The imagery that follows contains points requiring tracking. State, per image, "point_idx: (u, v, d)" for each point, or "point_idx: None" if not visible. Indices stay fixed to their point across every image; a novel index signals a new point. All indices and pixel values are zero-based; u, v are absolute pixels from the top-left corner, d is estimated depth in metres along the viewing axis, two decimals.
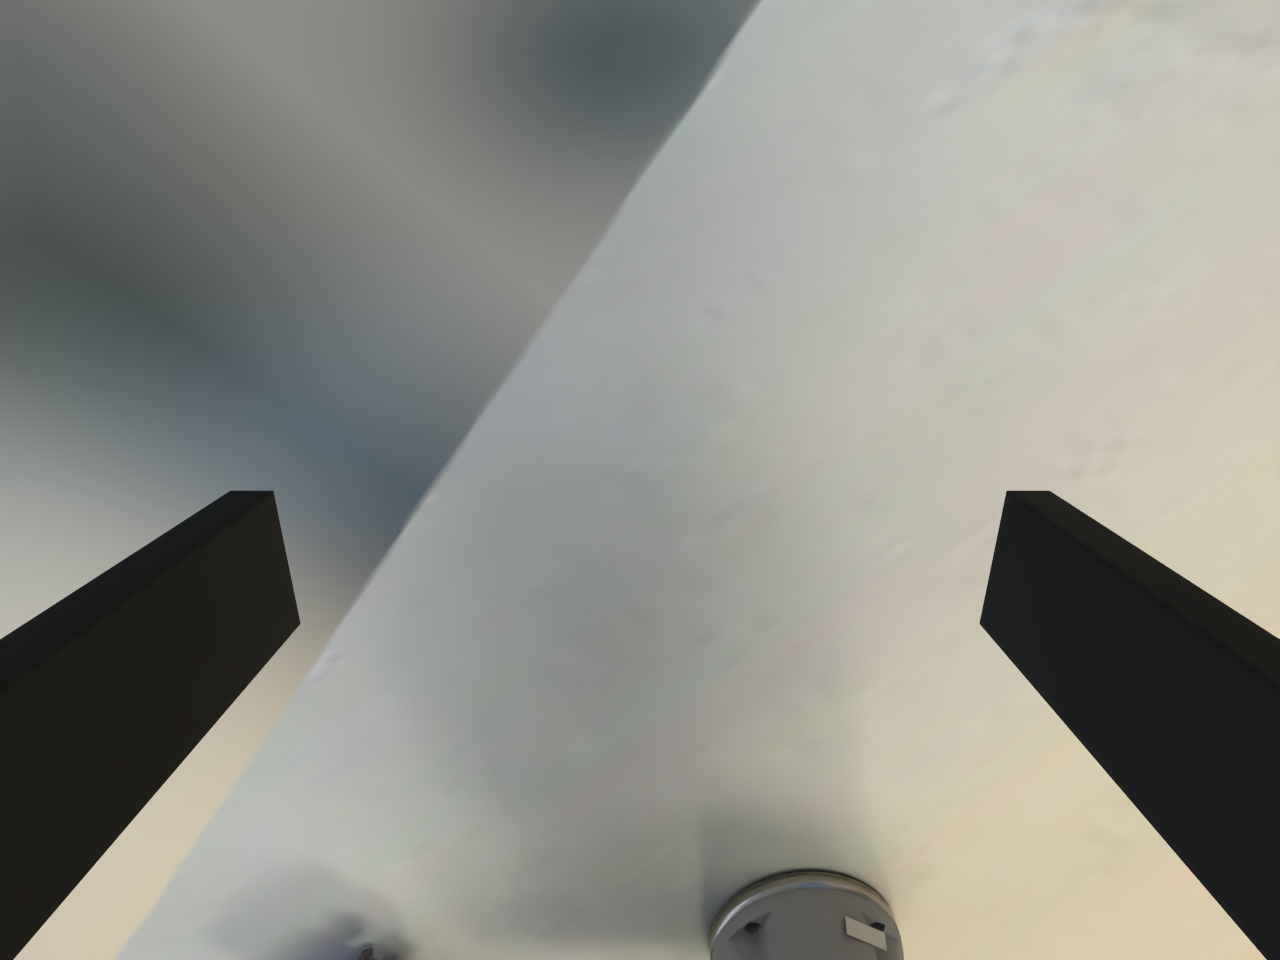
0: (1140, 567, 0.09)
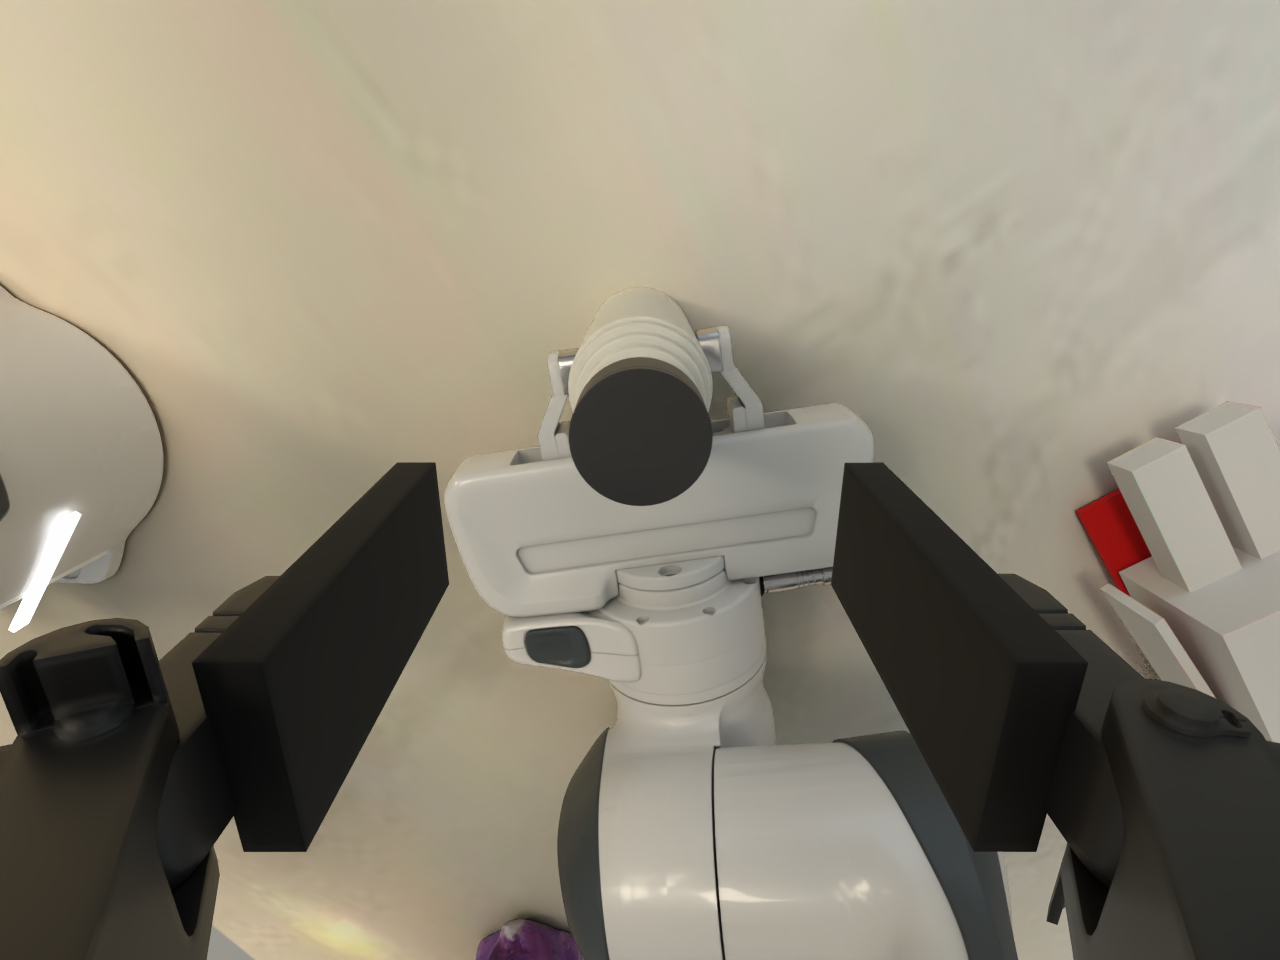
0: (919, 521, 0.11)
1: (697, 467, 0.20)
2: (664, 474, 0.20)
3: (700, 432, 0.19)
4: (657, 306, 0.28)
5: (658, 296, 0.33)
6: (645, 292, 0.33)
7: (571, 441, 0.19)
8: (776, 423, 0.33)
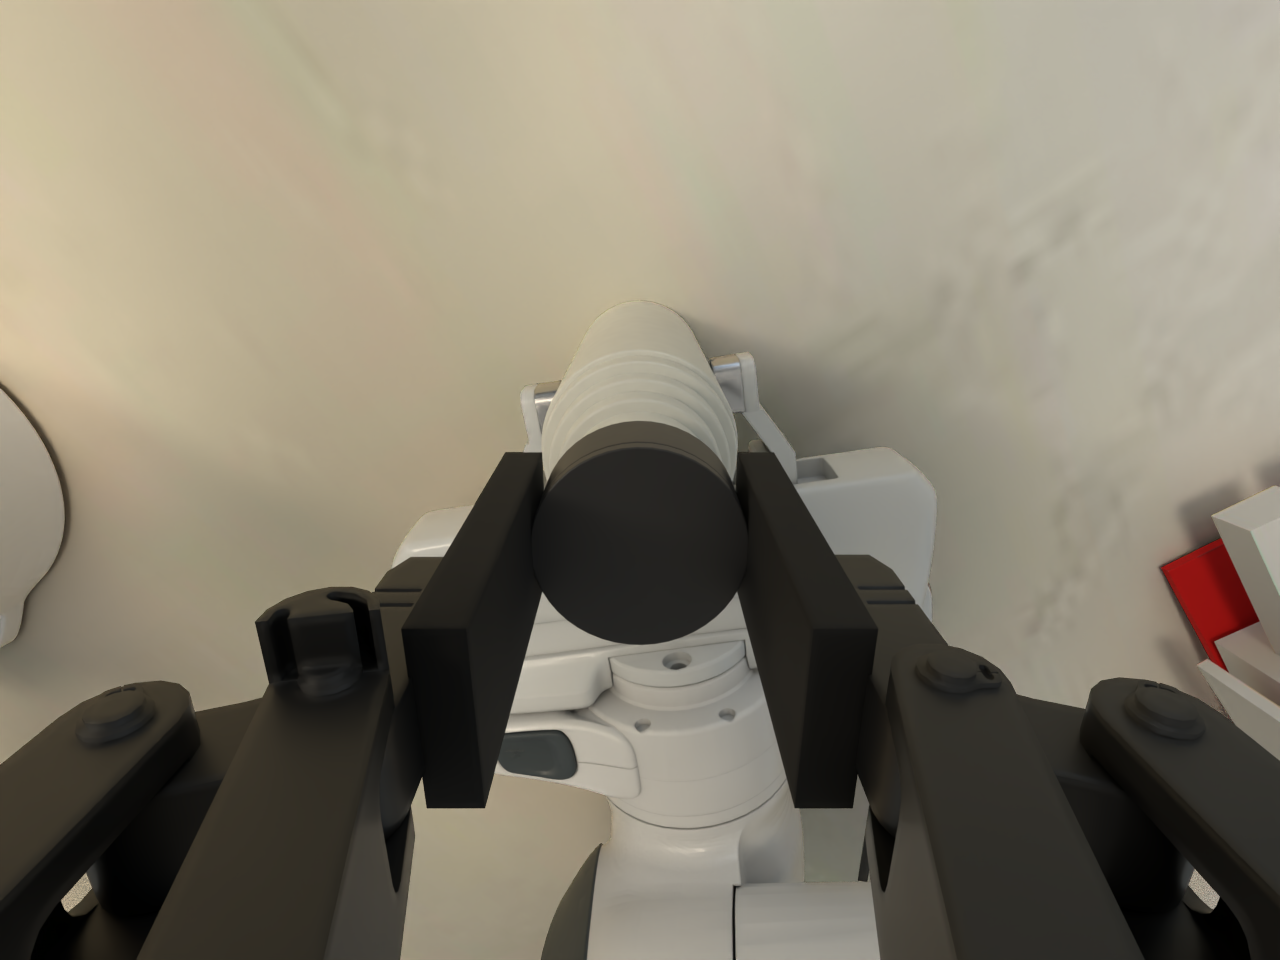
0: (783, 505, 0.11)
1: (725, 591, 0.13)
2: (675, 600, 0.13)
3: (731, 540, 0.13)
4: (662, 330, 0.21)
5: (662, 314, 0.26)
6: (646, 308, 0.26)
7: (534, 554, 0.13)
8: (810, 473, 0.27)
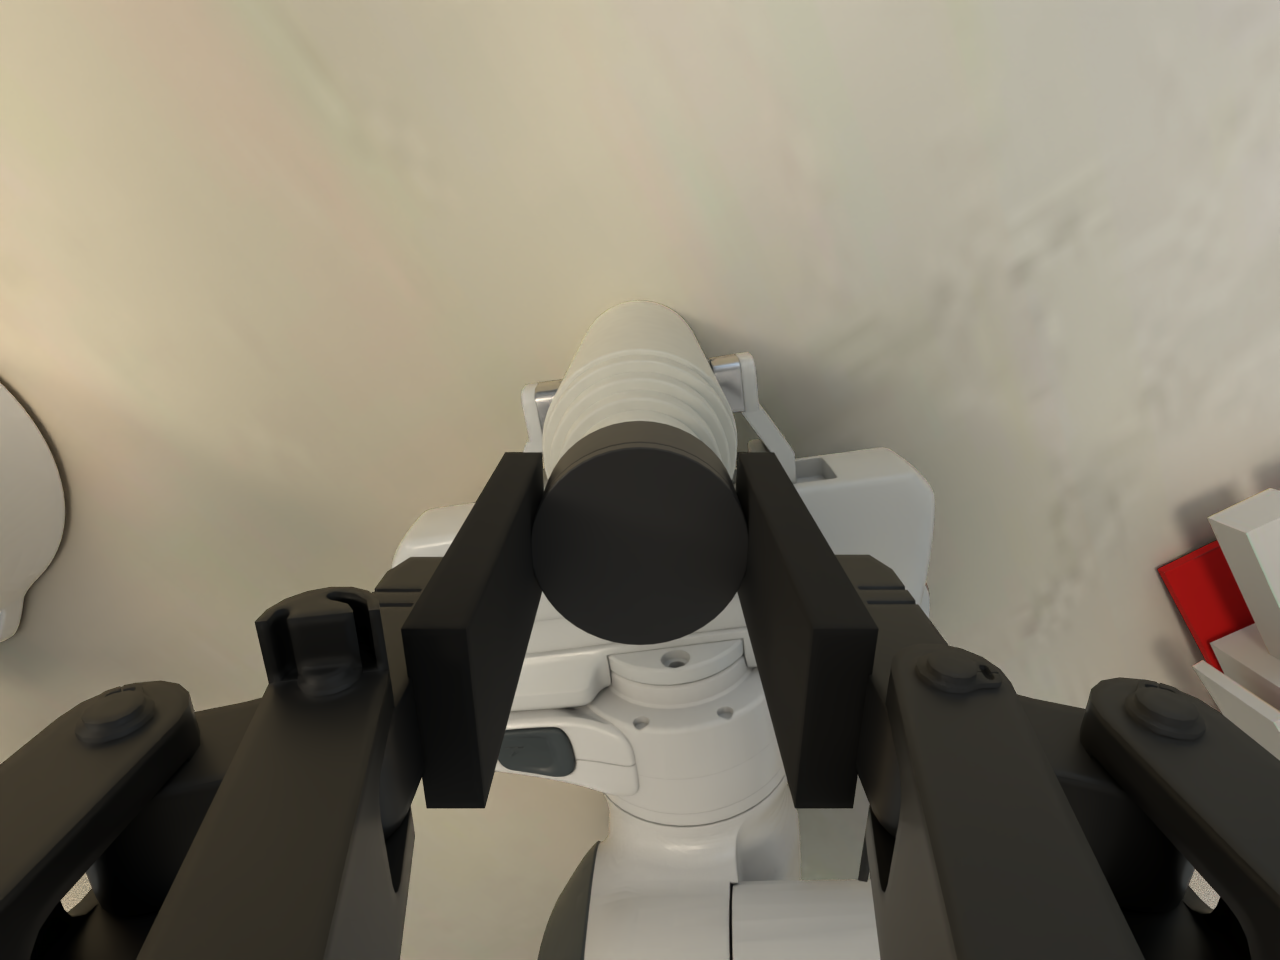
0: (783, 506, 0.11)
1: (649, 459, 0.12)
2: (679, 501, 0.12)
3: (593, 476, 0.12)
4: (662, 330, 0.21)
5: (663, 313, 0.26)
6: (646, 308, 0.26)
7: (678, 636, 0.13)
8: (808, 472, 0.27)
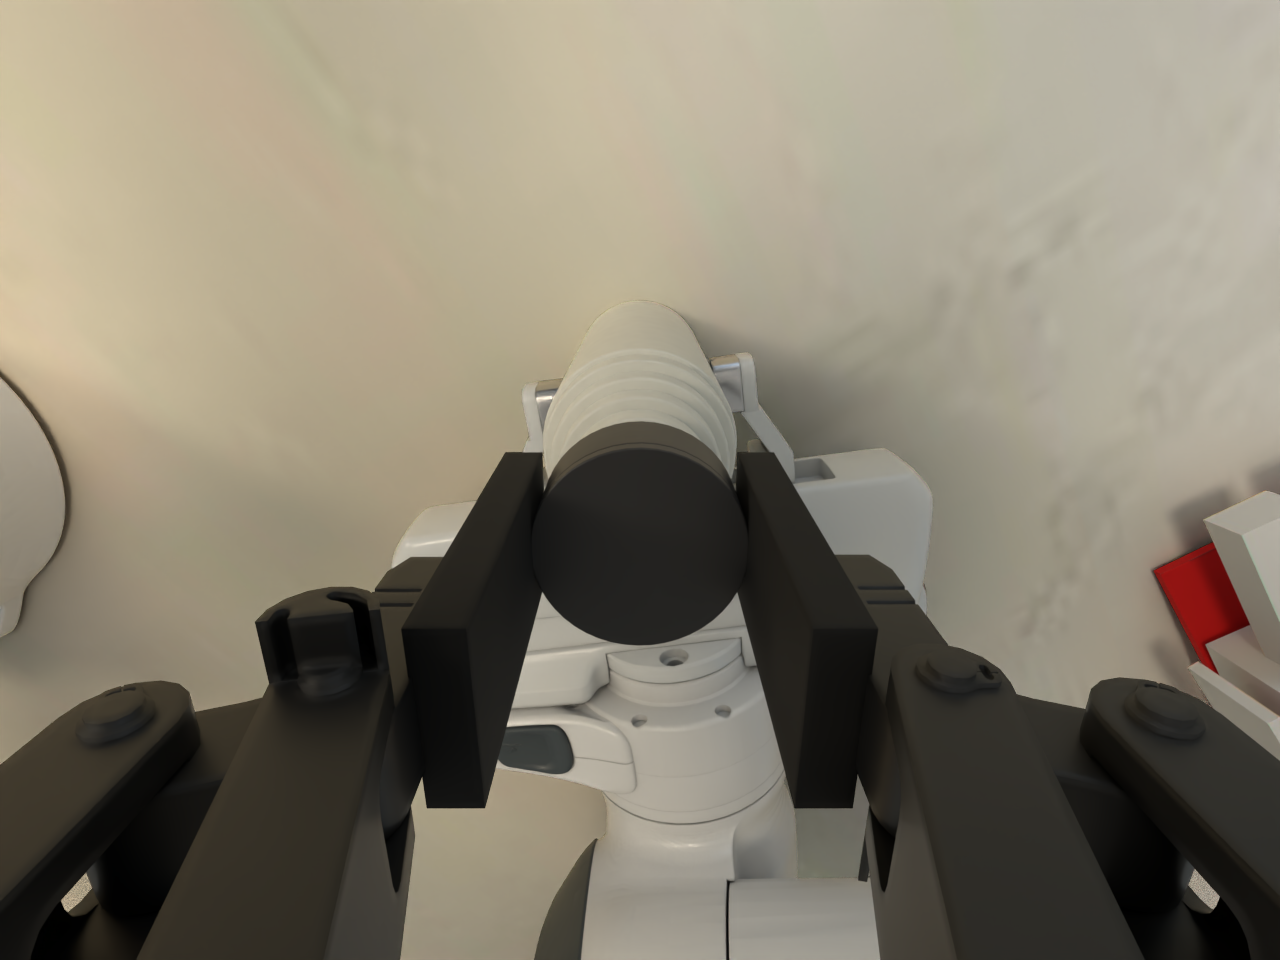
0: (782, 505, 0.11)
1: (546, 577, 0.13)
2: (574, 538, 0.12)
3: (583, 613, 0.13)
4: (663, 330, 0.22)
5: (663, 313, 0.26)
6: (647, 308, 0.27)
7: (719, 484, 0.12)
8: (807, 473, 0.27)
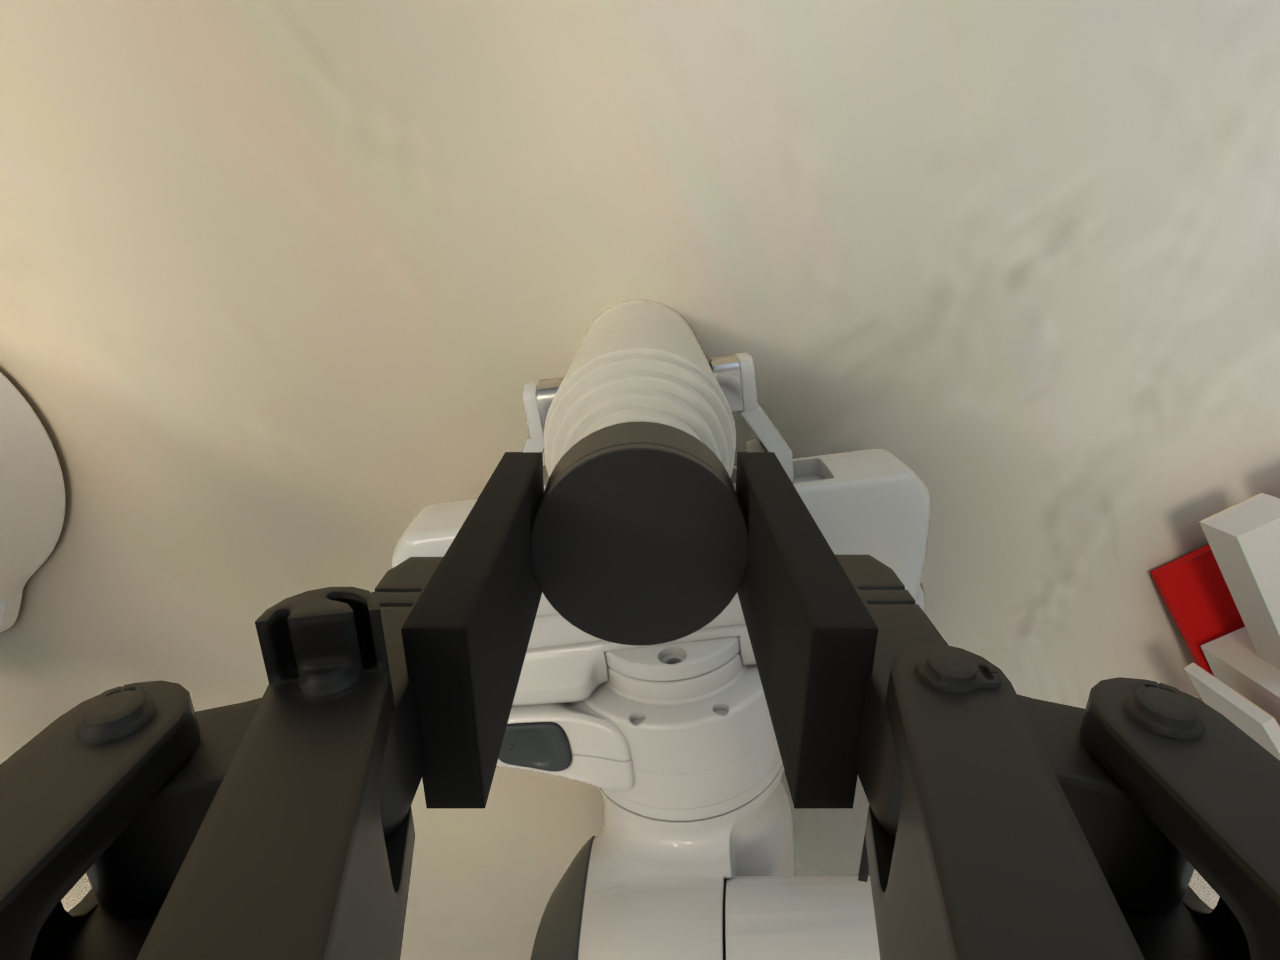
0: (783, 505, 0.11)
1: (697, 620, 0.13)
2: (648, 610, 0.13)
3: (725, 578, 0.13)
4: (663, 330, 0.22)
5: (663, 313, 0.26)
6: (647, 308, 0.27)
7: (541, 512, 0.12)
8: (806, 473, 0.27)
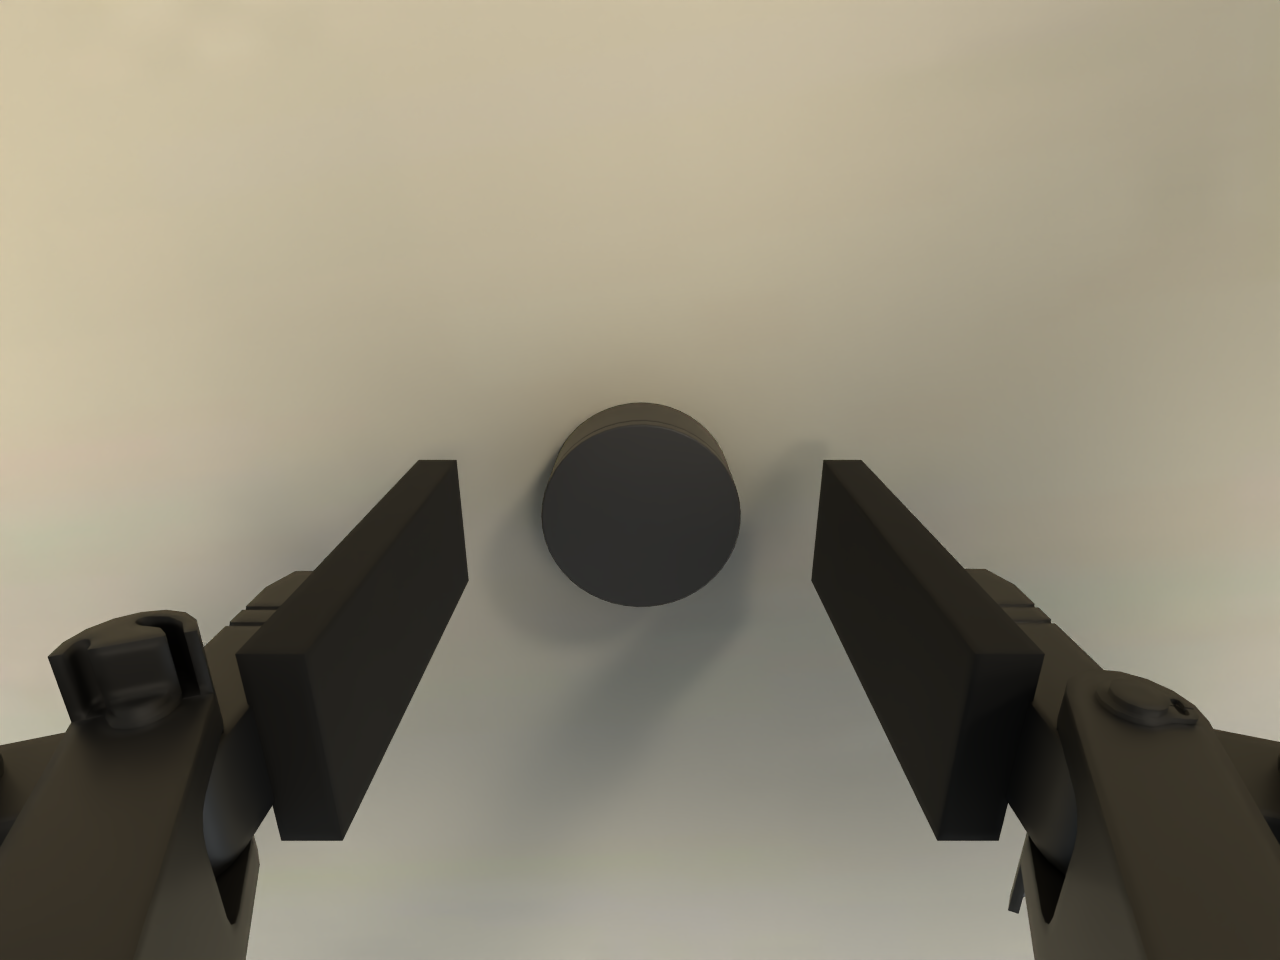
0: (892, 517, 0.11)
1: (693, 583, 0.14)
2: (648, 574, 0.14)
3: (718, 544, 0.14)
4: None
5: None
6: None
7: (552, 483, 0.14)
8: None
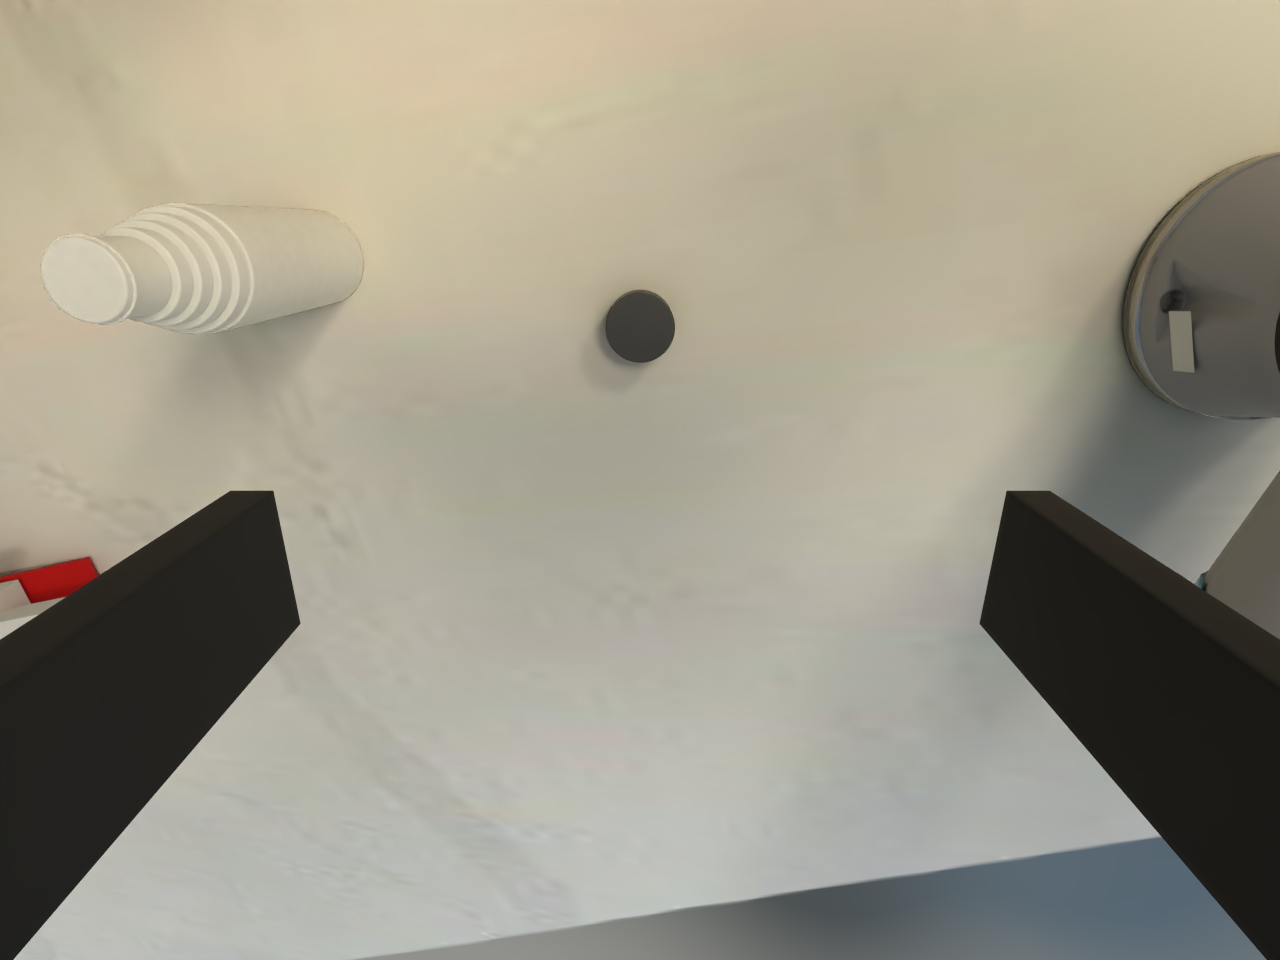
0: (1140, 567, 0.09)
1: (658, 352, 0.41)
2: (643, 349, 0.41)
3: (667, 337, 0.40)
4: (291, 300, 0.33)
5: (331, 294, 0.38)
6: (340, 284, 0.38)
7: (610, 313, 0.40)
8: None
